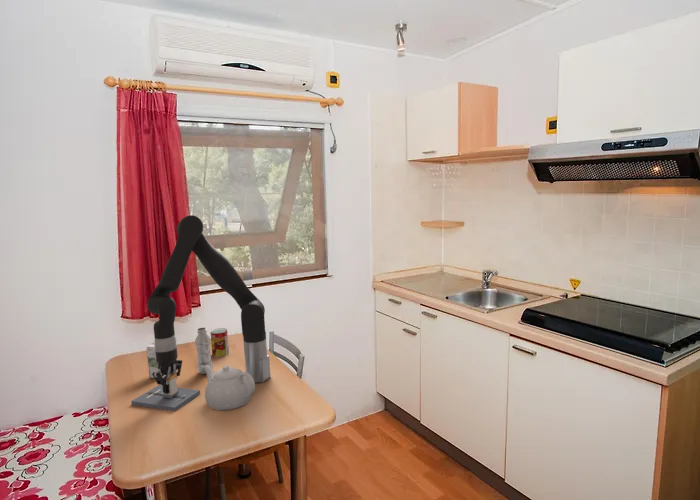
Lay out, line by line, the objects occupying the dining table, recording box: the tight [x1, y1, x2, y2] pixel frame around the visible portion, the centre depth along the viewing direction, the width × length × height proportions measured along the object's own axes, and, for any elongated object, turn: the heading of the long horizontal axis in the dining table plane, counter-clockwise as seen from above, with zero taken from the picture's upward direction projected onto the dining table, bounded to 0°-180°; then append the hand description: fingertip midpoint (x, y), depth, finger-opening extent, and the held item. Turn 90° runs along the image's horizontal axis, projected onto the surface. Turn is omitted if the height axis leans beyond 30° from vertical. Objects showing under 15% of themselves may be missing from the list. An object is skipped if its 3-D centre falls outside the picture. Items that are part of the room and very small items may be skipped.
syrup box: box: [145, 341, 158, 379], centre depth 184 cm, size 6×6×14 cm
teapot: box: [203, 365, 256, 411], centre depth 159 cm, size 19×18×14 cm
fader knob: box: [162, 374, 179, 398], centre depth 162 cm, size 4×4×8 cm
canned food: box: [209, 327, 230, 358], centre depth 208 cm, size 8×8×12 cm
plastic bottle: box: [194, 327, 214, 375], centre depth 186 cm, size 6×7×20 cm
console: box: [130, 384, 201, 412], centre depth 163 cm, size 20×14×2 cm
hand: (170, 390), depth 162 cm, fingers closed on fader knob, 3 cm apart
